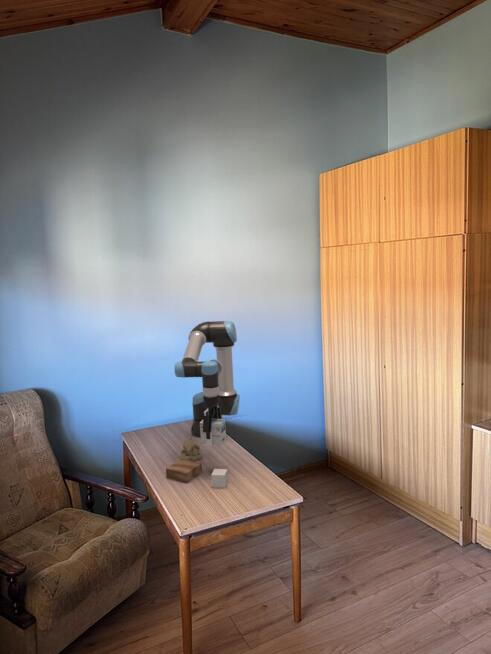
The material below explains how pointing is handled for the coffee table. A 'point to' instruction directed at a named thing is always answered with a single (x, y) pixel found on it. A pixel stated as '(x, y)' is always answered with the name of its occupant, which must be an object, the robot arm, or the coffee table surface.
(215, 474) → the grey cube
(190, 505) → the coffee table surface
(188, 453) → the ceramic model
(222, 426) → the light bulb box
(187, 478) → the base block
